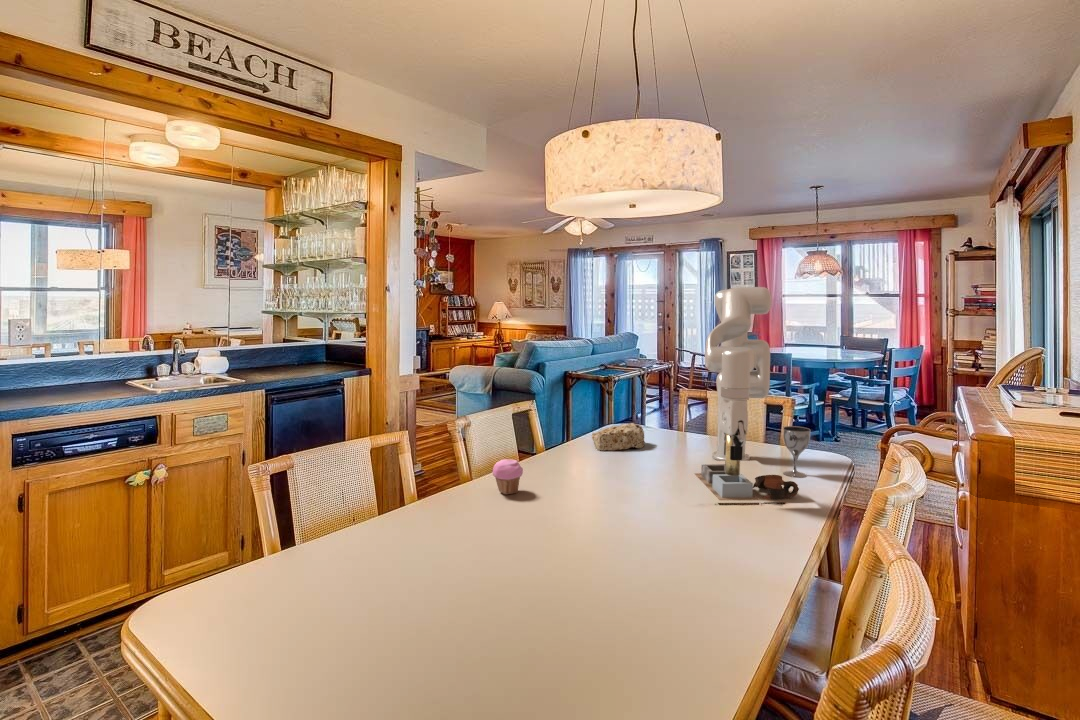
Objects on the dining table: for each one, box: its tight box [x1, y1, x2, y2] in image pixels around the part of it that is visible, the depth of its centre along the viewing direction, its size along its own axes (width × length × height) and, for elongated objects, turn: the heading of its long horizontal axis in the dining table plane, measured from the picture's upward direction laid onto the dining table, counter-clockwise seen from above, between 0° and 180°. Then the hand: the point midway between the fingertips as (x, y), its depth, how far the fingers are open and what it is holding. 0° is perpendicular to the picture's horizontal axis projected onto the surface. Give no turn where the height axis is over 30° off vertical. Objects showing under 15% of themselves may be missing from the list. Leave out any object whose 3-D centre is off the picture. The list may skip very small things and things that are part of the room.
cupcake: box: [492, 458, 524, 495], centre depth 163 cm, size 9×9×10 cm
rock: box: [591, 422, 646, 452], centre depth 216 cm, size 21×14×10 cm
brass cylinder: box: [724, 433, 741, 476], centre depth 157 cm, size 4×4×12 cm
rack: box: [712, 473, 754, 498], centre depth 158 cm, size 8×8×4 cm
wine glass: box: [782, 425, 811, 479], centre depth 179 cm, size 8×8×15 cm
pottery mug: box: [753, 474, 800, 505], centre depth 157 cm, size 12×10×8 cm
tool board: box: [694, 463, 760, 506], centre depth 164 cm, size 24×11×5 cm, turn 1°
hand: (732, 457), depth 157 cm, fingers closed on brass cylinder, 4 cm apart
